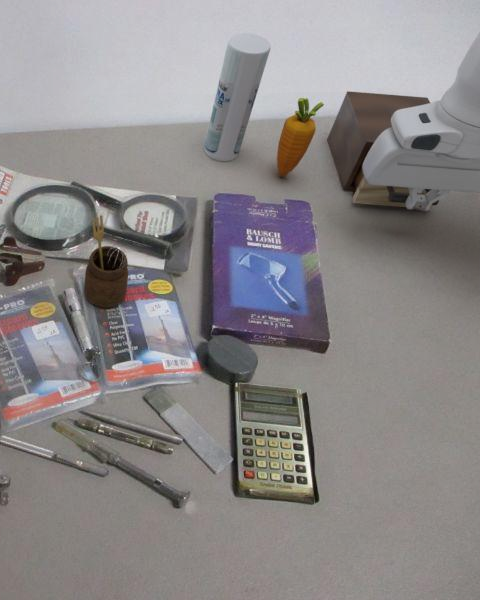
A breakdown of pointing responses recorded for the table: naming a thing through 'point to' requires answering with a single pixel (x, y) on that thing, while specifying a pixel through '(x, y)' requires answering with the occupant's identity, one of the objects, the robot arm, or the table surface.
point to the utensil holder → (105, 272)
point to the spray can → (236, 95)
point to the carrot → (296, 137)
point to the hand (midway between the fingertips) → (415, 207)
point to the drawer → (381, 192)
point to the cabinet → (362, 128)
